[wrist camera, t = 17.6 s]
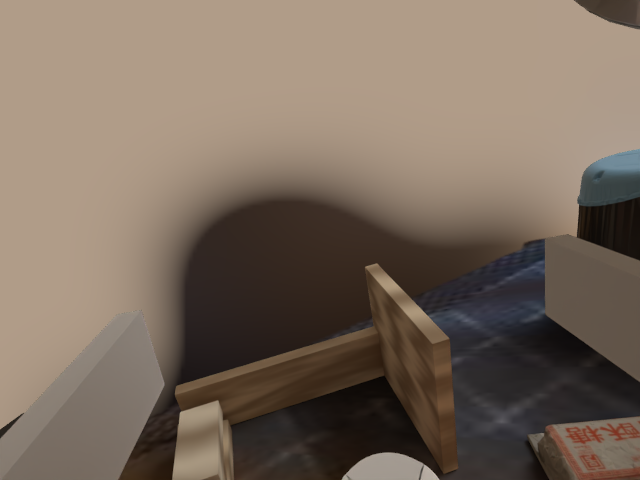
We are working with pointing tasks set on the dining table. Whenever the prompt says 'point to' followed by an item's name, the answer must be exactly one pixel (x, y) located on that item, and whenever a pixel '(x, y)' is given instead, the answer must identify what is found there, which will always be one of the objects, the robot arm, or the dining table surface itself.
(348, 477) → the paper cup
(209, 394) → the oak rack
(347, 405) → the dining table surface
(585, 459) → the packaged product
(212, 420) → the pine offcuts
